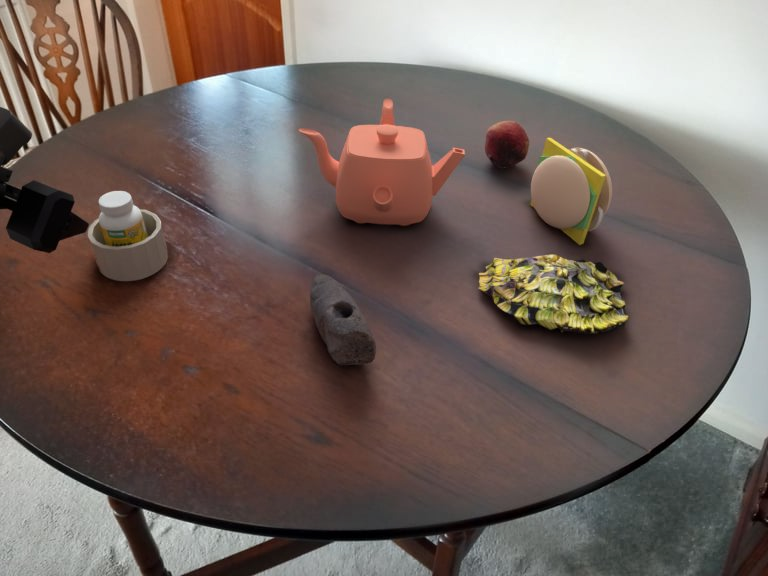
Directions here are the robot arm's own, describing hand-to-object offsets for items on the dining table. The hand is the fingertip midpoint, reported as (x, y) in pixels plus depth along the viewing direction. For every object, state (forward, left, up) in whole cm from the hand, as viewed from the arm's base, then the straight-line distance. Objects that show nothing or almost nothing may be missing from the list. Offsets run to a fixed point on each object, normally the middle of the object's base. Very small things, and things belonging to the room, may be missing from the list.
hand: (57, 215), depth 71 cm
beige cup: (+5, +8, -13) cm, 16 cm away
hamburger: (+70, +6, -14) cm, 72 cm away
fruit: (+67, +24, -14) cm, 72 cm away
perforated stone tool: (+30, -12, -14) cm, 35 cm away
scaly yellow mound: (+60, -10, -14) cm, 62 cm away
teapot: (+42, +15, -14) cm, 47 cm away
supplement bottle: (+5, +8, -13) cm, 16 cm away
